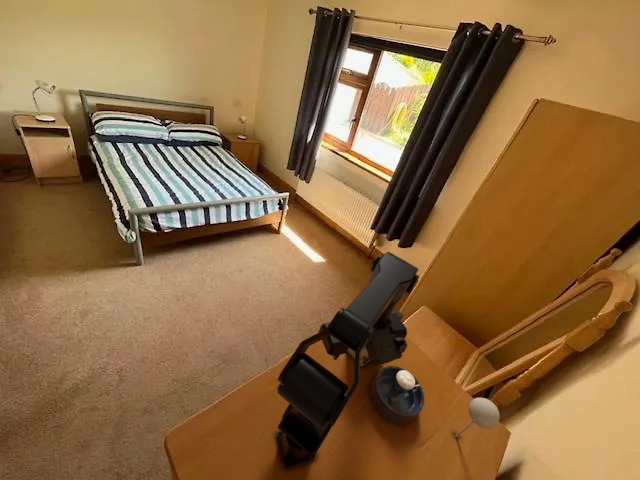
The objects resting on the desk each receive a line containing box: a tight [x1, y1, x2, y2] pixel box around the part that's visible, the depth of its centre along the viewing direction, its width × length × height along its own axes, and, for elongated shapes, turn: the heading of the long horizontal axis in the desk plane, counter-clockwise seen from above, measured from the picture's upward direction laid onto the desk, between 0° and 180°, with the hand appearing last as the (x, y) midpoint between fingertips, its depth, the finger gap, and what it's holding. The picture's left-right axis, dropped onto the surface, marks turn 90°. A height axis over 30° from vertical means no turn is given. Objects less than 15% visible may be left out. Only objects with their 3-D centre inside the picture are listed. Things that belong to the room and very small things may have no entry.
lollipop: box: [454, 397, 501, 438], centre depth 69 cm, size 6×6×15 cm
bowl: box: [370, 365, 425, 425], centre depth 76 cm, size 12×12×4 cm
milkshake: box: [387, 369, 422, 403], centre depth 74 cm, size 4×5×10 cm
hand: (352, 354), depth 69 cm, fingers open, 9 cm apart
